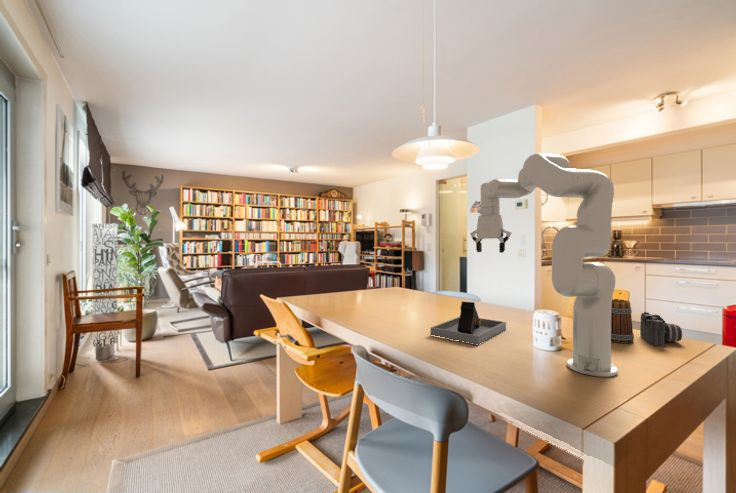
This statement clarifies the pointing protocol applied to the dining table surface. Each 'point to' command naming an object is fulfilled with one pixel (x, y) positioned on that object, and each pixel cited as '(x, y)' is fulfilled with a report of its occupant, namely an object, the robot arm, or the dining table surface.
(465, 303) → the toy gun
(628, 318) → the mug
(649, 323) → the camera
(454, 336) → the tray
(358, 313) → the dining table surface
